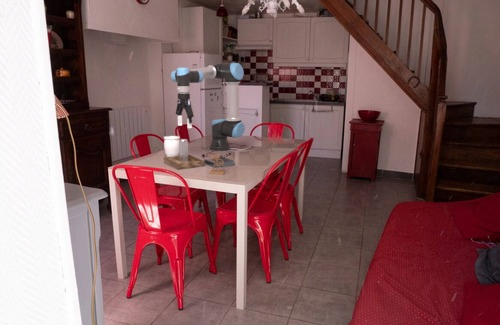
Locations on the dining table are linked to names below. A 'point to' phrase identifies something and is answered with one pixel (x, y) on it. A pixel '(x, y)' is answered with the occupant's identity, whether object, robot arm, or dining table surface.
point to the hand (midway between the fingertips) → (184, 126)
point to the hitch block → (226, 162)
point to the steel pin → (183, 150)
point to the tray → (192, 163)
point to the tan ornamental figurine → (217, 167)
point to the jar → (171, 145)
